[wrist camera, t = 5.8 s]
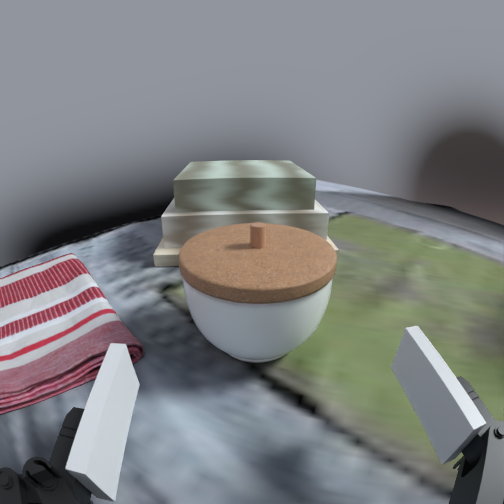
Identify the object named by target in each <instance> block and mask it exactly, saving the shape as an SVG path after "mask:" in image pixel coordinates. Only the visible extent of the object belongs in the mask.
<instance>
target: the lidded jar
mask: <svg viewBox="0 0 504 504" xmlns="http://www.w3.org/2000/svg"><path fill="white" fill-rule="evenodd" d="M178 262H179V268H180V272H181V275H182V280H183V287H184V293H185V297H186V301H187V304H188V307H189V311H190V313H191V316H192V318H193V320H194V322H195V324H196V326H197V327H198V329H199V330H200V332H201V333H202V334H203V336H204V337H205V338H206V339H207V340H208V341H209V342H211V343H212V344H213V345H214V346H216V347H217V348H218V349H220V350H222V351H224V352H226V353H227V354H229V355H230V356H232V357H234V358H236V359H238V360H241V361H245V362H252V363H263V362H269V361H273V360H276V359H279V358H281V357H282V356H284V355H286V354H287V353H289V352H291V351H293V350H294V349H296V348H298V347H299V346H300V345H302V344H303V343H304V342H305V341H306V340H307V339H309V337H310V336H311V335H312V334H313V333H314V331H315V330H316V328H317V327H318V326H319V323H320V321H321V319H322V317H323V315H324V313H325V310H326V307H327V304H328V301H329V297H330V292H331V287H332V279H333V276H334V274H335V271H336V263H337V255H336V252H335V250H334V248H333V247H332V245H331V244H330V243H329V242H328V241H326V240H325V239H323V238H322V237H320V236H318V235H316V234H314V233H312V232H309V231H306V230H303V229H300V228H296V227H291V226H286V225H279V224H270V223H261V222H255V223H244V224H233V225H227V226H222V227H218V228H214V229H210V230H207V231H205V232H202V233H200V234H197V235H196V236H194V237H192V238H191V239H189V240H188V241H187V242H186V243H185V244H184V245H183V246H182V248H181V250H180V252H179V256H178Z"/></svg>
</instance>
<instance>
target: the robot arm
mask: <svg viewBox="0 0 504 504" xmlns="http://www.w3.org/2000/svg"><path fill="white" fill-rule="evenodd" d="M391 368H392V370H393V372H394V374H395V375H396V377H397V379H398V381H399V383H400V384H401V386H402V388H403V390H404V392H405V393H406V395H407V397H408V399H409V401H410V403H411V404H412V406H413V408H414V410H415V412H416V414H417V416H418V418H419V419H420V421H421V423H422V425H423V427H424V429H425V431H426V433H427V435H428V437H429V439H430V441H431V443H432V445H433V447H434V449H435V451H436V453H437V455H438V457H439V459H440V461H441V463H442V464H445V463H447V462H449V461H451V460H453V459H455V458H456V457H457V456H458V455H459V454H460V453H461V452H462V453H463V455H464V456H463V457H462V458H461V459H460V460H459V461H458V462H457V463H456V464H455V465H454V467H453V469H455V468H456V467H457V466H458V465H459V464H460V466H459V468H458V469H457V470H458V474H457V478H456V481H455V485H454V488H453V492H452V495H451V498H450V501H449V504H504V422H503V421H495V419H494V418H493V417H492V415H491V414H490V412H489V411H488V409H487V408H486V406H485V405H484V403H483V402H482V400H481V399H480V398H479V396H478V395H477V393H476V392H474V389H473V387H472V386H471V385H470V383H469V382H468V381H466V380H465V379H464V378H463V377H461V376H460V377H457V378H456V377H455V375H454V374H453V372H452V371H451V370H450V368H449V367H448V365H447V364H446V363H445V361H444V360H443V359H442V357H441V356H440V355H439V353H438V352H437V351H436V349H435V348H434V347H433V345H432V344H431V343H430V341H429V340H428V339H427V337H426V336H425V335H424V333H423V332H422V331H421V330H420V328H419V327H418V326H414V327H408V328H405V331H404V334H403V337H402V339H401V342H400V345H399V348H398V350H397V353H396V356H395V358H394V361H393V364H392V366H391ZM139 385H140V384H139V381H138V379H137V376H136V373H135V370H134V367H133V364H132V361H131V358H130V355H129V352H128V349H127V346H126V344H118V343H111V344H110V346H109V348H108V351H107V353H106V355H105V358H104V360H103V363H102V365H101V368H100V370H99V373H98V375H97V378H96V380H95V383H94V385H93V388H92V391H91V393H90V396H89V399H88V401H87V404H86V407H85V409H81V408H76V407H73V408H72V410H71V411H70V412H69V413H68V414H67V415H66V417H65V419H64V422H63V425H62V428H61V430H60V433H59V436H58V438H57V441H56V444H55V447H54V450H53V453H52V456H51V459H50V462H49V461H47V460H46V459H44V458H41V457H34V458H31V459H29V460H28V461H27V462H26V463H25V465H24V467H23V471H22V472H23V474H17V473H16V472H14V471H13V470H12V469H10V468H5V467H4V468H1V469H0V504H93V502H92V501H91V500H90V498H91V493H92V494H93V495H95V496H96V497H97V498H100V499H105V500H109V501H114V502H115V498H116V492H117V487H118V481H119V475H120V470H121V465H122V460H123V455H124V450H125V445H126V440H127V435H128V431H129V426H130V422H131V418H132V413H133V409H134V405H135V401H136V397H137V393H138V389H139Z"/></svg>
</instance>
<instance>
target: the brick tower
mask: <svg viewBox="0 0 504 504" xmlns="http://www.w3.org/2000/svg"><path fill="white" fill-rule="evenodd" d="M173 182H174V199H173V200H172V202H171V203H170V205H169V206H168V207H167V209H166V210H165V212H164V213H163V215H162V216H161V220H162V230H163V237H162V239H161V241H160V243H159V245H158V247H157V249H156V251H155V253H154V255H153V257H154V264H155V267H162V266H179V262H178V256H179V252H180V250H181V248H182V246H183V245H184V244H185V243H186V242H187V241H188V240H189V239H191V238H192V237H194V236H196V235H197V234H200V233H202V232H205V231H207V230H210V229H214V228H218V227H222V226H227V225H233V224H244V223H255V222H261V223H270V224H279V225H286V226H291V227H296V228H300V229H303V230H306V231H309V232H312V233H314V234H316V235H318V236H320V237H322V238H323V239H325V240H326V241H328V242H329V243H330V244H331V245H332V247H333V248H334V250H335V252H336V255H337V260H338V252H339V250H338V248H337V247H336V246H335V245H334V243H333V242H332V241H331V240H330V238H329V237H328V236H327V231H328V221H329V213H328V212H327V211H326V210H325V209H324V208H323V207H322V206H321V205H320V204H319V203H318V202H317V201H316V200H315V187H316V178H315V177H313V176H312V175H310V174H309V173H307V172H306V171H304V170H303V169H302V168H300V167H298V166H297V165H295V164H294V163H292V162H291V161H281V160H279V161H278V160H247V161H246V160H244V161H242V160H239V161H204V162H190V163H189V165H187V166H186V167H185V169H184V170H183V171H182V172H181V173H180V174H179V175H178V176H177V177H176V178H175V179H174V180H173Z"/></svg>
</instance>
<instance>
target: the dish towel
mask: <svg viewBox="0 0 504 504" xmlns="http://www.w3.org/2000/svg"><path fill="white" fill-rule="evenodd" d="M111 343H118V344H126V346H127V349H128V352H129V355H130V358H131V361H132V364H134V363H136V362H138V360H139V359H140V358H142V356H143V354H144V352H145V348H144V346H143V345H142V344H141V343H140V341H139V340H138V339H137V338H136V337H135V336H134V335H133V334H132V333H131V332H130V330H129V329H128V328H127V327H126V326H125V325H124V323H123V322H122V321H121V319H120V318H119V317H118V315H117V314H116V312H115V311H114V310H113V308H112V307H111V306H110V305H109V303H108V301H107V299H106V298H105V296H104V294H103V293H102V291H101V290H100V289H99V287H98V285H97V284H96V283H95V281H94V280H93V278H92V277H91V275H90V273H89V272H88V270H87V269H86V267H85V266H84V264H83V263H82V262H81V261H79V260H78V259H77V257H76V256H75V255H74V254H72V253H70V254H66V255H63V256H60V257H57V258H54V259H52V260H49V261H47V262H44V263H41V264H38V265H35V266H32V267H29V268H26V269H23V270H20V271H18V272H16V273H13V274H10V275H8V276H5V277H3V278H0V414H3V413H6V412H9V411H13V410H16V409H19V408H23V407H27V406H30V405H32V404H35V403H38V402H41V401H43V400H46V399H48V398H51V397H53V396H55V395H58V394H61V393H63V392H66V391H68V390H70V389H72V388H74V387H77V386H79V385H82V384H84V383H86V382H88V381H91V380H93V379H96V378H97V375H98V373H99V370H100V368H101V365H102V363H103V360H104V358H105V355H106V353H107V351H108V348H109V346H110V344H111Z"/></svg>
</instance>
